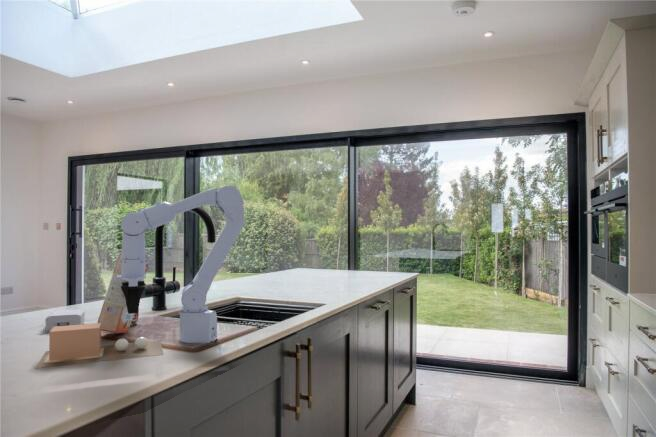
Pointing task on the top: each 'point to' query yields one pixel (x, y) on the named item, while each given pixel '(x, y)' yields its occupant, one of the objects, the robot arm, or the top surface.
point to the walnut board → (106, 355)
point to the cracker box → (116, 304)
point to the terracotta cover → (74, 341)
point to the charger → (64, 318)
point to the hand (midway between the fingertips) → (132, 310)
